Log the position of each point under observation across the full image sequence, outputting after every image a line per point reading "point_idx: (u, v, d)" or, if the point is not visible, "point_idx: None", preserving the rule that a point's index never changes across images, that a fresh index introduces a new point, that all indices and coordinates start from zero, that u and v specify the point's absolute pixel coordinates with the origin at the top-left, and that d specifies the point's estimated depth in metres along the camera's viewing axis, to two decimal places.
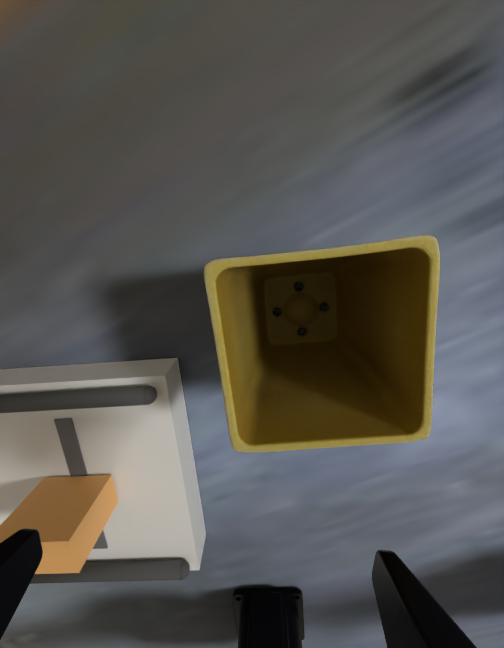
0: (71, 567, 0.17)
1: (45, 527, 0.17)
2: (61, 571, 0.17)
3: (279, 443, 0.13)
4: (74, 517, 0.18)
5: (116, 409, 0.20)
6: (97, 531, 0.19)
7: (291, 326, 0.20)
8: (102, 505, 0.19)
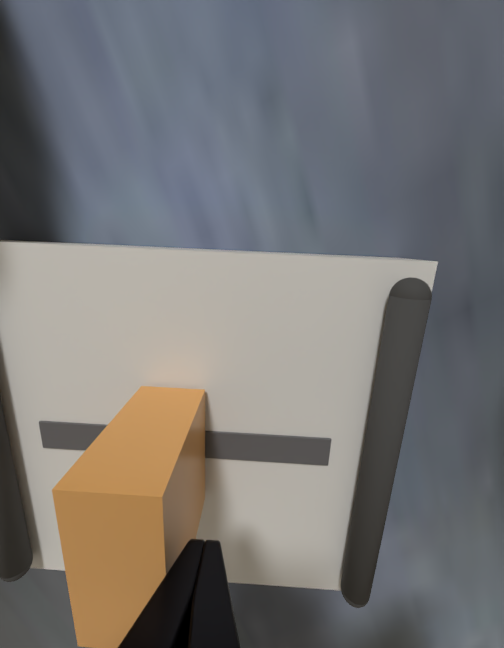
0: (143, 508, 0.06)
1: None
2: (156, 533, 0.06)
3: None
4: None
5: (15, 344, 0.11)
6: (171, 433, 0.08)
7: None
8: (150, 411, 0.09)
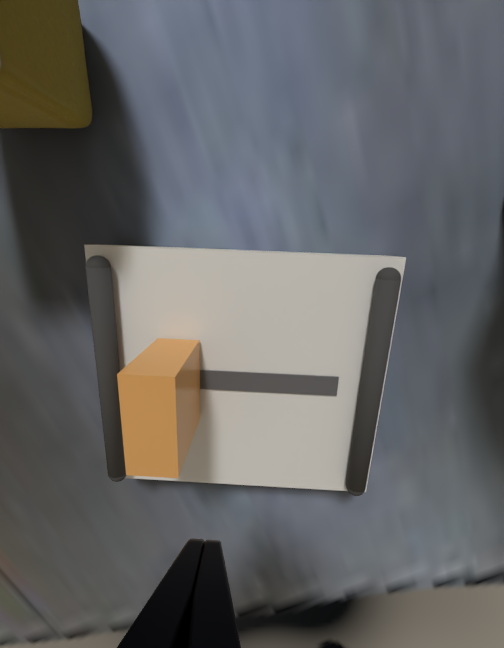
0: (165, 384, 0.12)
1: None
2: (171, 398, 0.12)
3: None
4: None
5: (130, 313, 0.16)
6: (178, 356, 0.14)
7: None
8: (164, 348, 0.15)
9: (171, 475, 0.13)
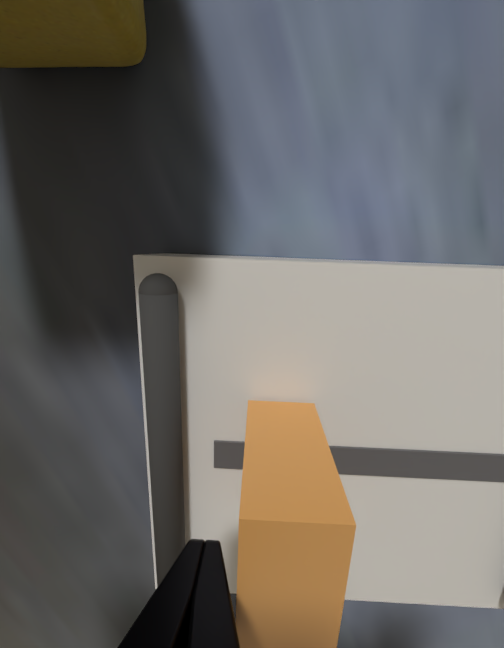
0: (334, 536, 0.06)
1: None
2: (342, 561, 0.06)
3: None
4: None
5: (201, 362, 0.11)
6: (314, 452, 0.08)
7: None
8: (276, 428, 0.09)
9: None
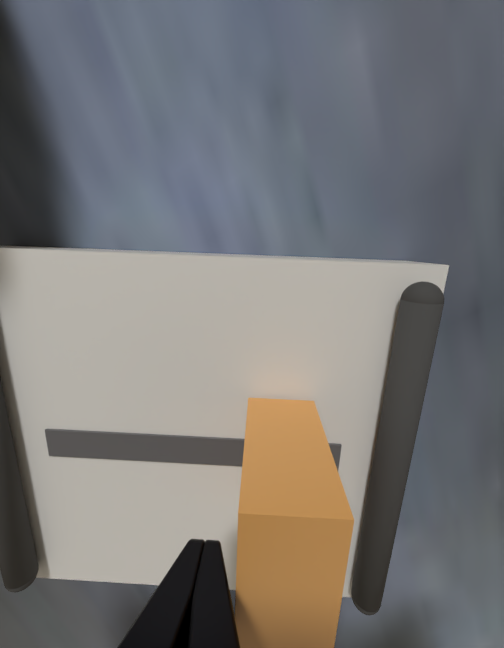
0: (333, 531, 0.06)
1: None
2: (340, 555, 0.06)
3: None
4: None
5: (21, 351, 0.11)
6: (314, 448, 0.08)
7: None
8: (276, 425, 0.09)
9: None
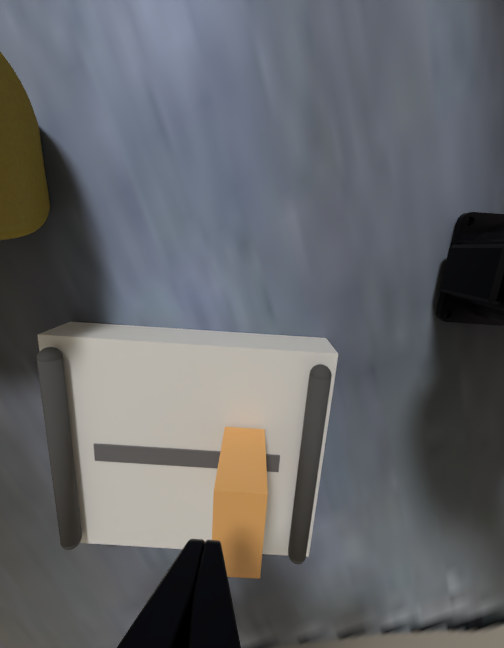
0: (258, 500, 0.13)
1: None
2: (262, 512, 0.13)
3: None
4: None
5: (82, 396, 0.17)
6: (257, 459, 0.15)
7: None
8: (239, 445, 0.16)
9: (253, 576, 0.14)
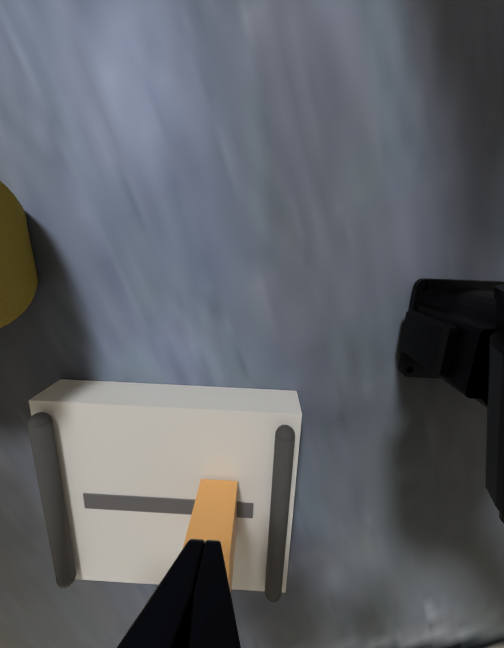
0: None
1: None
2: None
3: None
4: None
5: (71, 452, 0.19)
6: (225, 517, 0.16)
7: None
8: (211, 501, 0.17)
9: None
